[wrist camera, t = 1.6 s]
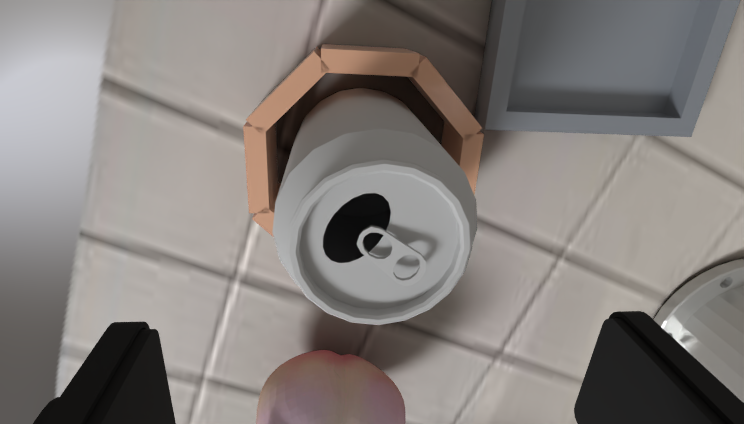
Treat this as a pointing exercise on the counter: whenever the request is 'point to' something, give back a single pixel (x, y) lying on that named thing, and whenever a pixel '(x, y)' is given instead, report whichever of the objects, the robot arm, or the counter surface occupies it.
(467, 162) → the terracotta ring
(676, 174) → the counter surface
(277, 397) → the decorative fruit
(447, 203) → the can
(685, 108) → the slate tray
